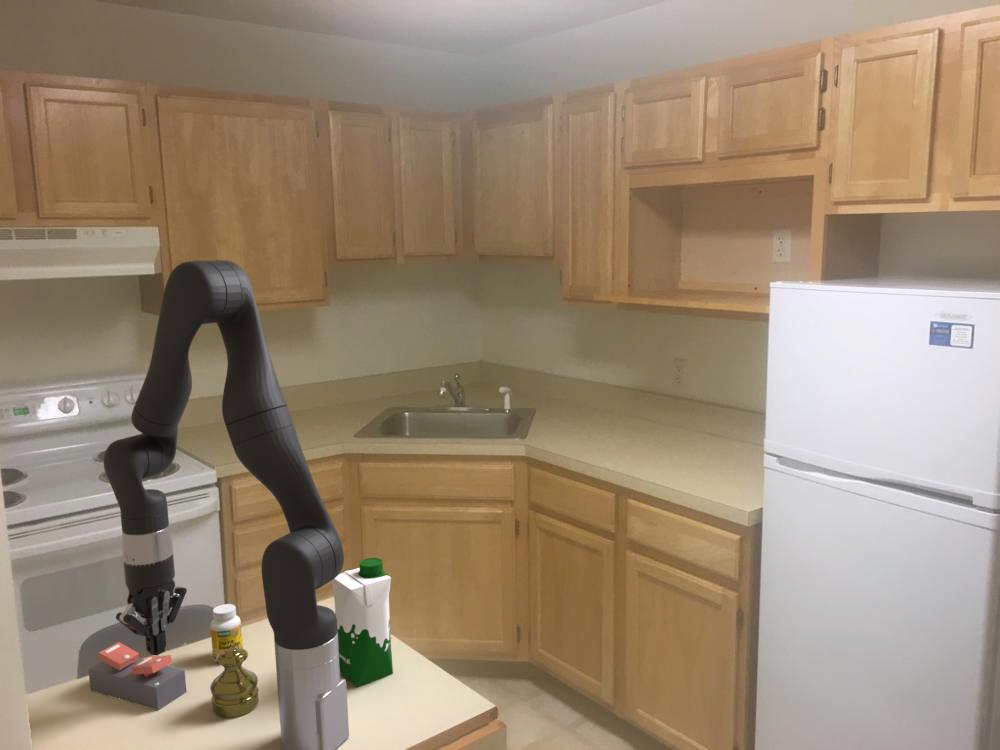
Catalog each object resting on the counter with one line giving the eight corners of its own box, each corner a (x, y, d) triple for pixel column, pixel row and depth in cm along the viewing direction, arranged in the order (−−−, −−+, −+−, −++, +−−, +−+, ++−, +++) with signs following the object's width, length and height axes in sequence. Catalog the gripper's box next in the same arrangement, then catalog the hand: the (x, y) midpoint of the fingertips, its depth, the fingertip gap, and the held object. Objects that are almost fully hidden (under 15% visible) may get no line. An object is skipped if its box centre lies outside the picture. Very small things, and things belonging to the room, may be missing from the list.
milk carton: (400, 674, 139) (395, 566, 136) (353, 692, 134) (347, 579, 131) (376, 654, 146) (371, 551, 143) (331, 671, 141) (324, 564, 138)
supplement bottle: (239, 647, 150) (235, 599, 149) (247, 658, 146) (243, 609, 144) (209, 655, 147) (205, 607, 146) (217, 667, 143) (213, 617, 141)
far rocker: (138, 662, 138) (139, 652, 137) (118, 674, 134) (119, 663, 133) (118, 651, 139) (118, 641, 139) (98, 661, 136) (99, 651, 135)
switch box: (186, 691, 135) (184, 669, 134) (158, 710, 130) (156, 687, 129) (120, 673, 142) (117, 652, 141) (90, 690, 136) (88, 668, 136)
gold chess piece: (268, 697, 133) (264, 642, 131) (240, 722, 126) (235, 663, 124) (232, 690, 135) (228, 635, 134) (202, 714, 128) (197, 656, 127)
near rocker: (173, 665, 134) (170, 654, 134) (154, 677, 130) (151, 665, 130) (153, 666, 136) (150, 655, 136) (134, 678, 132) (130, 666, 132)
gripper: (130, 572, 122) (140, 676, 125) (196, 543, 134) (203, 639, 136) (97, 565, 125) (107, 667, 128) (163, 537, 137) (171, 631, 140)
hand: (157, 652), depth 132 cm, fingers closed
